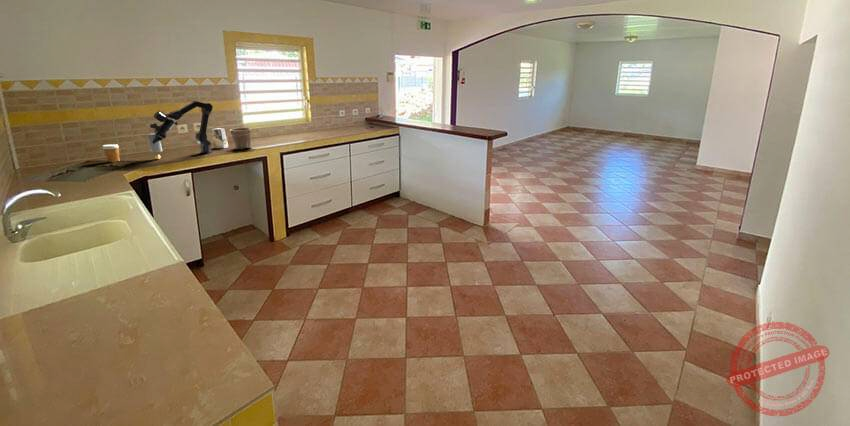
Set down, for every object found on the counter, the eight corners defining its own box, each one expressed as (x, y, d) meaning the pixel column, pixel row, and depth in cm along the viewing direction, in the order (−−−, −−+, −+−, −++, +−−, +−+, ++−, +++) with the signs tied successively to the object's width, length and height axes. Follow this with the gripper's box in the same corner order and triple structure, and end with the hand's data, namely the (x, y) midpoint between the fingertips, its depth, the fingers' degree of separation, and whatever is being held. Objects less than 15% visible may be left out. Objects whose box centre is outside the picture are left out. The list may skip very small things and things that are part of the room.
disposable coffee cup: (125, 160, 295) (121, 144, 291) (112, 163, 287) (107, 146, 283) (116, 159, 298) (112, 143, 294) (103, 162, 289) (98, 145, 286)
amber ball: (161, 158, 302) (160, 154, 301) (159, 159, 299) (158, 155, 298) (157, 158, 302) (156, 154, 301) (154, 159, 299) (153, 155, 298)
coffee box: (228, 147, 348) (225, 128, 342) (224, 148, 342) (220, 129, 336) (219, 146, 349) (215, 128, 344) (214, 148, 343) (211, 129, 338)
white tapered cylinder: (164, 150, 302) (160, 133, 297) (158, 152, 295) (154, 135, 291) (155, 150, 302) (151, 133, 298) (148, 152, 295) (144, 135, 291)
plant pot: (244, 150, 333) (241, 130, 327) (228, 149, 337) (225, 129, 332) (257, 147, 347) (254, 128, 342) (242, 146, 352) (239, 127, 347)
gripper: (154, 117, 300) (140, 134, 298) (156, 120, 286) (141, 137, 283) (169, 127, 307) (155, 143, 305) (172, 130, 293) (157, 147, 290)
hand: (152, 142), depth 295 cm, fingers closed on white tapered cylinder, 7 cm apart
